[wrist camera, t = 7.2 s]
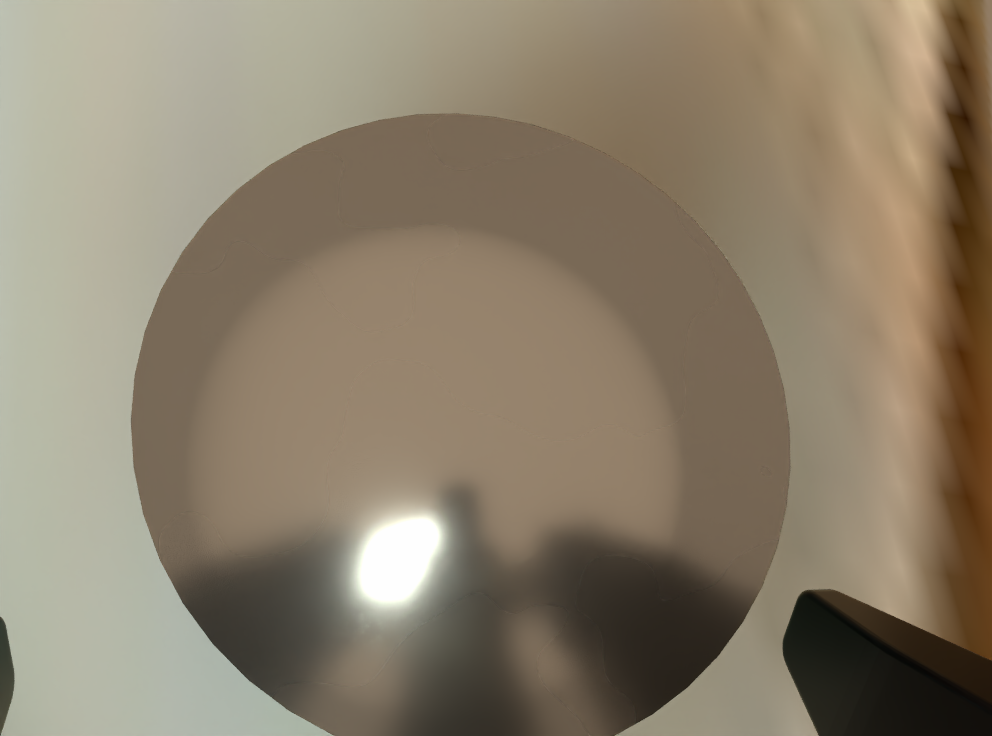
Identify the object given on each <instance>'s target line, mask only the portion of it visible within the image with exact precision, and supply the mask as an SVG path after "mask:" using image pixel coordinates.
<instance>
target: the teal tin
mask: <svg viewBox="0 0 992 736" xmlns="http://www.w3.org/2000/svg"><path fill="white" fill-rule="evenodd" d="M131 429H132V446H133V463H134V471H135V476H136V481H137V486H138V490H139V495H140V500H141V505H142V510H143V514H144V517H145V520H146V523H147V526H148V528H149V531H150V534H151V537H152V539H153V542H154V545H155V548H156V550H157V553H158V556H159V559H160V561H161V563H162V565H163V567H164V568H165V570H166V572H167V574H168V576H169V578H170V580H171V582H172V583H173V585H174V587H175V589H176V591H177V593H178V595H179V596H180V598H181V600H182V602H183V604H184V605H185V607H186V608H187V609H188V611H189V612H190V613H191V615H192V616H193V617H194V619H195V620H196V622H197V623H198V624H199V626H200V627H201V628H202V630H203V631H204V632H205V634H206V635H207V636H208V638H209V639H210V641H211V642H212V643H213V644H214V646H215V647H216V648H217V649H218V650H219V651H220V652H221V653H222V654H223V655H224V656H225V657H226V658H227V659H228V660H229V661H230V662H231V663H232V664H233V665H234V666H235V667H236V668H237V669H238V670H239V671H240V672H241V673H242V674H243V675H244V676H245V677H246V678H247V679H248V680H249V681H251V682H252V683H253V684H254V685H256V686H257V687H258V688H260V689H261V690H262V691H264V692H265V693H266V694H268V695H269V696H270V697H272V698H273V699H274V700H276V701H277V702H278V703H280V704H281V705H282V706H284V707H285V708H286V709H288V710H289V711H291V712H292V713H294V714H296V715H298V716H300V717H301V718H303V719H305V720H307V721H309V722H311V723H312V724H314V725H316V726H318V727H320V728H321V729H323V730H325V731H327V732H329V733H330V734H332V735H335V736H615V735H617V734H618V733H620V732H622V731H624V730H625V729H627V728H629V727H631V726H633V725H634V724H636V723H638V722H640V721H641V720H643V719H645V718H647V717H648V716H650V715H652V714H654V713H655V712H656V711H657V710H659V709H660V708H661V707H663V706H664V705H665V704H667V703H668V702H669V701H670V700H672V699H673V698H674V697H676V696H677V695H678V694H679V693H681V692H682V691H683V690H685V689H686V688H687V687H688V686H689V685H690V684H691V683H692V682H693V681H694V680H695V679H696V678H697V677H698V676H699V675H700V674H701V673H702V672H703V671H704V670H705V669H706V668H707V667H708V666H709V665H710V664H711V663H712V662H713V661H714V660H715V659H716V658H717V657H718V655H719V654H720V653H721V651H722V650H723V648H724V647H725V646H726V644H727V643H728V642H729V640H730V639H731V638H732V636H733V635H734V633H735V632H736V631H737V629H738V628H739V627H740V625H741V624H742V622H743V621H744V619H745V617H746V615H747V613H748V612H749V610H750V608H751V606H752V604H753V602H754V600H755V599H756V597H757V595H758V593H759V591H760V589H761V587H762V586H763V583H764V580H765V578H766V575H767V572H768V570H769V567H770V564H771V562H772V559H773V556H774V554H775V551H776V548H777V545H778V541H779V537H780V532H781V528H782V524H783V519H784V515H785V511H786V505H787V496H788V486H789V476H790V431H789V421H788V414H787V408H786V401H785V394H784V388H783V384H782V380H781V377H780V373H779V369H778V365H777V362H776V358H775V354H774V351H773V348H772V346H771V343H770V341H769V338H768V336H767V333H766V331H765V328H764V326H763V323H762V320H761V318H760V315H759V314H758V312H757V310H756V308H755V306H754V304H753V302H752V300H751V299H750V297H749V295H748V293H747V291H746V289H745V287H744V285H743V284H742V282H741V280H740V279H739V277H738V276H737V274H736V273H735V271H734V270H733V268H732V267H731V266H730V264H729V263H728V261H727V260H726V258H725V257H724V255H723V254H722V252H721V251H720V249H719V248H718V247H717V246H716V245H715V244H714V243H713V241H712V240H711V239H710V238H709V237H708V236H707V234H706V233H705V232H704V231H703V230H702V229H701V227H700V226H699V225H698V224H697V223H696V222H695V220H693V219H692V218H691V217H690V216H689V215H688V214H687V213H686V212H685V211H684V210H683V209H682V208H681V207H679V206H678V205H677V204H676V203H675V202H674V201H673V200H672V199H671V198H670V197H669V196H668V195H667V194H665V193H664V192H663V191H661V190H660V189H659V188H657V187H656V186H655V185H653V184H652V183H651V182H649V181H648V180H647V179H645V178H644V177H643V176H641V175H640V174H639V173H637V172H636V171H634V170H632V169H631V168H629V167H627V166H626V165H624V164H622V163H621V162H619V161H617V160H616V159H614V158H612V157H610V156H609V155H607V154H605V153H604V152H602V151H599V150H597V149H595V148H593V147H591V146H588V145H586V144H584V143H582V142H579V141H577V140H575V139H573V138H571V137H568V136H565V135H562V134H559V133H556V132H553V131H550V130H547V129H544V128H541V127H538V126H535V125H531V124H526V123H522V122H517V121H512V120H507V119H502V118H497V117H490V116H478V115H467V114H419V115H411V116H404V117H397V118H390V119H383V120H378V121H374V122H370V123H367V124H363V125H359V126H356V127H352V128H348V129H345V130H341V131H338V132H336V133H334V134H331V135H329V136H326V137H324V138H321V139H319V140H317V141H314V142H312V143H309V144H307V145H304V146H303V147H301V148H299V149H297V150H296V151H294V152H292V153H290V154H289V155H287V156H285V157H283V158H282V159H280V160H278V161H276V162H275V163H273V164H271V165H269V166H268V167H267V168H265V169H264V170H263V171H261V172H260V173H259V174H257V175H256V176H255V177H254V178H252V179H251V180H250V181H248V182H247V183H246V184H244V185H243V186H242V187H240V188H239V189H238V190H236V191H235V192H234V193H233V194H232V195H231V196H230V197H229V198H228V199H227V200H226V201H225V202H224V203H223V204H222V205H221V206H220V207H219V208H218V209H217V210H216V211H215V212H214V213H213V214H212V215H211V216H210V217H209V218H208V219H207V221H206V222H205V223H204V225H203V226H202V227H201V229H200V230H199V231H198V232H197V234H196V235H195V236H194V238H193V239H192V240H191V242H190V243H189V244H188V246H187V247H186V248H185V250H184V251H183V252H182V254H181V255H180V257H179V259H178V261H177V263H176V264H175V266H174V268H173V270H172V271H171V273H170V275H169V277H168V279H167V280H166V282H165V284H164V286H163V288H162V289H161V291H160V294H159V297H158V299H157V302H156V304H155V307H154V309H153V312H152V315H151V317H150V320H149V322H148V325H147V327H146V330H145V333H144V338H143V342H142V346H141V351H140V355H139V359H138V364H137V368H136V372H135V379H134V391H133V403H132V415H131Z"/></svg>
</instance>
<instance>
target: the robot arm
mask: <svg viewBox="0 0 992 736" xmlns="http://www.w3.org/2000/svg"><path fill="white" fill-rule="evenodd" d="M783 656H784V660H785V663H786V665H787V668H788V670H789V672H790V674H791V676H792V678H793V681H794V683H795V685H796V687H797V689H798V692H799V694H800V696H801V698H802V700H803V702H804V705H805V707H806V709H807V711H808V713H809V716H810V718H811V720H812V722H813V724H814V727H815V729H816V731H817V733H818V735H819V736H992V661H991V660H989V659H986V658H984V657H982V656H980V655H978V654H975V653H973V652H971V651H969V650H967V649H964V648H962V647H960V646H958V645H955V644H953V643H951V642H949V641H947V640H944V639H942V638H940V637H938V636H936V635H933V634H931V633H929V632H927V631H925V630H922V629H920V628H918V627H916V626H914V625H911V624H909V623H907V622H905V621H902V620H900V619H898V618H896V617H894V616H891V615H889V614H887V613H885V612H883V611H880V610H878V609H876V608H874V607H872V606H869V605H867V604H865V603H863V602H861V601H858V600H856V599H854V598H852V597H849V596H847V595H845V594H843V593H841V592H838V591H835V590H831V589H821V590H806V591H804V592H802V593H801V594H800V595H799V597H798V599H797V601H796V604H795V607H794V610H793V612H792V615H791V618H790V621H789V624H788V626H787V629H786V632H785V635H784V638H783ZM13 691H14V668H13V663H12V657H11V652H10V646H9V641H8V635H7V630H6V625H5V622H4V620H3V619H2V618H1V617H0V736H1V733H2V729H3V726H4V723H5V720H6V717H7V713H8V710H9V707H10V704H11V700H12V696H13Z"/></svg>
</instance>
